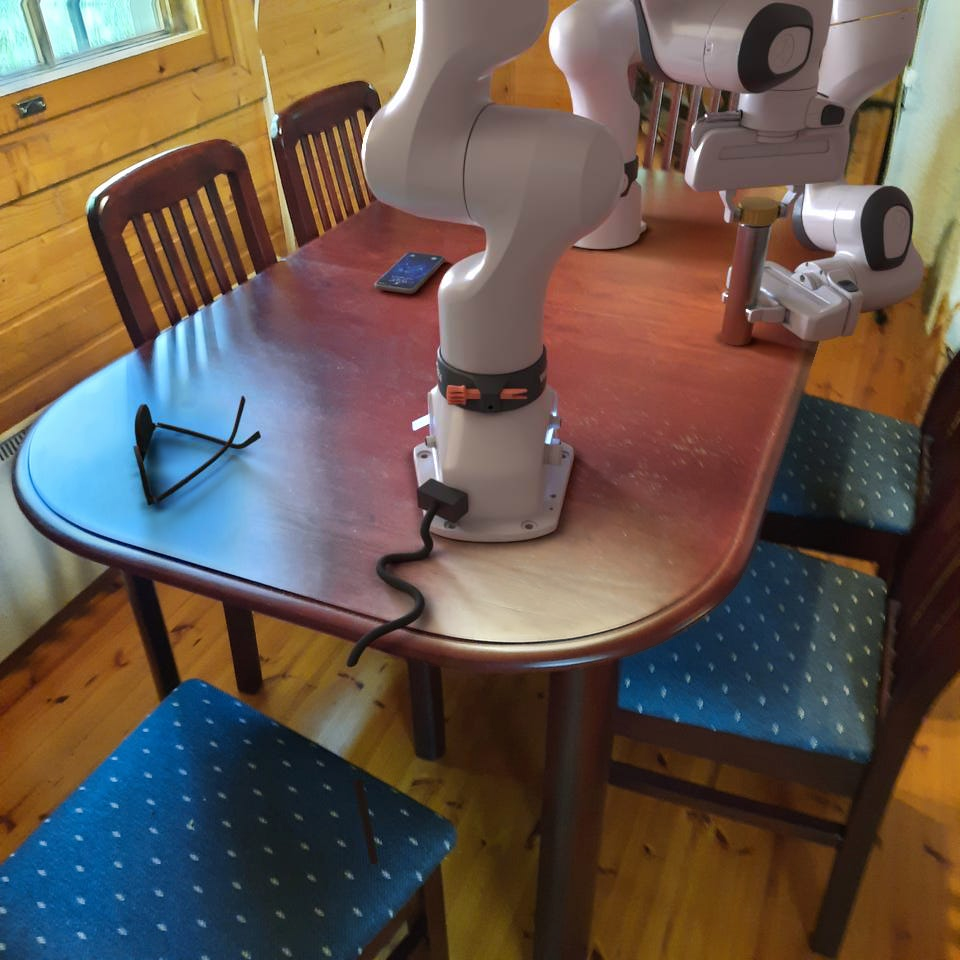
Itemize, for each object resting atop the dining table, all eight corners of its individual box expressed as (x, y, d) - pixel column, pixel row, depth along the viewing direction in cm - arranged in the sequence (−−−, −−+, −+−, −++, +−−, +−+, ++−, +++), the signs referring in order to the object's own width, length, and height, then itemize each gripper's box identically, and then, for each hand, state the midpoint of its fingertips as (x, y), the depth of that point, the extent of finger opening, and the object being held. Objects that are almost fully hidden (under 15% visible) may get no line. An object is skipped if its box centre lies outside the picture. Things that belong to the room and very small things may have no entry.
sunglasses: (270, 486, 97) (262, 449, 94) (137, 510, 94) (125, 474, 91) (257, 411, 110) (250, 377, 107) (140, 430, 107) (130, 396, 104)
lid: (784, 222, 112) (787, 205, 110) (753, 228, 110) (755, 211, 109) (759, 210, 115) (761, 194, 114) (728, 216, 114) (730, 200, 112)
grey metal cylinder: (715, 340, 123) (736, 209, 111) (727, 329, 125) (749, 200, 114) (743, 348, 121) (767, 215, 109) (755, 337, 123) (779, 206, 112)
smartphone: (447, 255, 148) (413, 290, 136) (447, 261, 148) (413, 296, 137) (407, 250, 150) (371, 284, 138) (407, 255, 150) (371, 290, 139)
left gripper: (703, 119, 101) (688, 234, 109) (865, 109, 103) (839, 221, 111) (684, 107, 106) (672, 217, 114) (840, 97, 108) (816, 205, 116)
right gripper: (778, 245, 129) (699, 259, 126) (871, 298, 114) (784, 316, 110) (771, 284, 133) (693, 299, 130) (860, 340, 118) (775, 359, 114)
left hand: (756, 219), depth 113 cm, fingers open, 5 cm apart
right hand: (735, 307), depth 120 cm, fingers closed on grey metal cylinder, 4 cm apart
